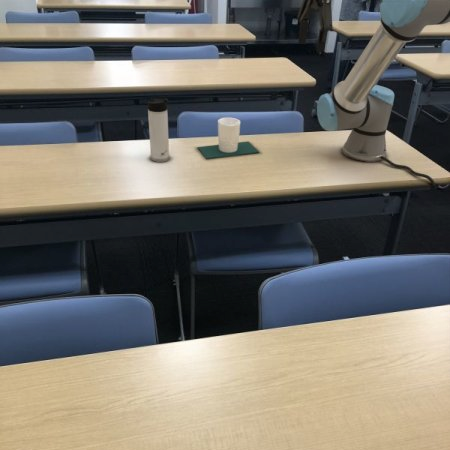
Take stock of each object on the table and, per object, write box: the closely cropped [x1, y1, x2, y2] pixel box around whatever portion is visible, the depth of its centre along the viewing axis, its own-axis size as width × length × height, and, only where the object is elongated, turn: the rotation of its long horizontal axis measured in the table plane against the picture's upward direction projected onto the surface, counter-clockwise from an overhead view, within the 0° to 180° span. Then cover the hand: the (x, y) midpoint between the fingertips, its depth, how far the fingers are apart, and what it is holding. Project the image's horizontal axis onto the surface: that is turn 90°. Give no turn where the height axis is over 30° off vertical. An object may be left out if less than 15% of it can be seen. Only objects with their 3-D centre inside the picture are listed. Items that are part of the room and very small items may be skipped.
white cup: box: [217, 117, 241, 153], centre depth 171 cm, size 8×8×10 cm
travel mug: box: [147, 97, 170, 163], centre depth 161 cm, size 6×7×20 cm
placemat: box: [197, 141, 260, 160], centre depth 174 cm, size 10×20×1 cm, turn 111°
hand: (310, 47), depth 170 cm, fingers open, 13 cm apart
